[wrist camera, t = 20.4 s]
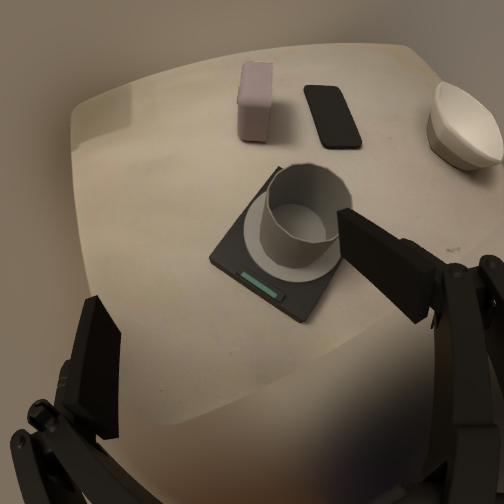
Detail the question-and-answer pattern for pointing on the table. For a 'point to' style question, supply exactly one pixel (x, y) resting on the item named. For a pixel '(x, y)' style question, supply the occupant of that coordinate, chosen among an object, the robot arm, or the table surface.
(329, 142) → the phone
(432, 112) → the bowl
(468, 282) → the robot arm
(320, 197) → the cup
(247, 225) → the scale
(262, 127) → the electronic device
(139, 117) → the table surface
